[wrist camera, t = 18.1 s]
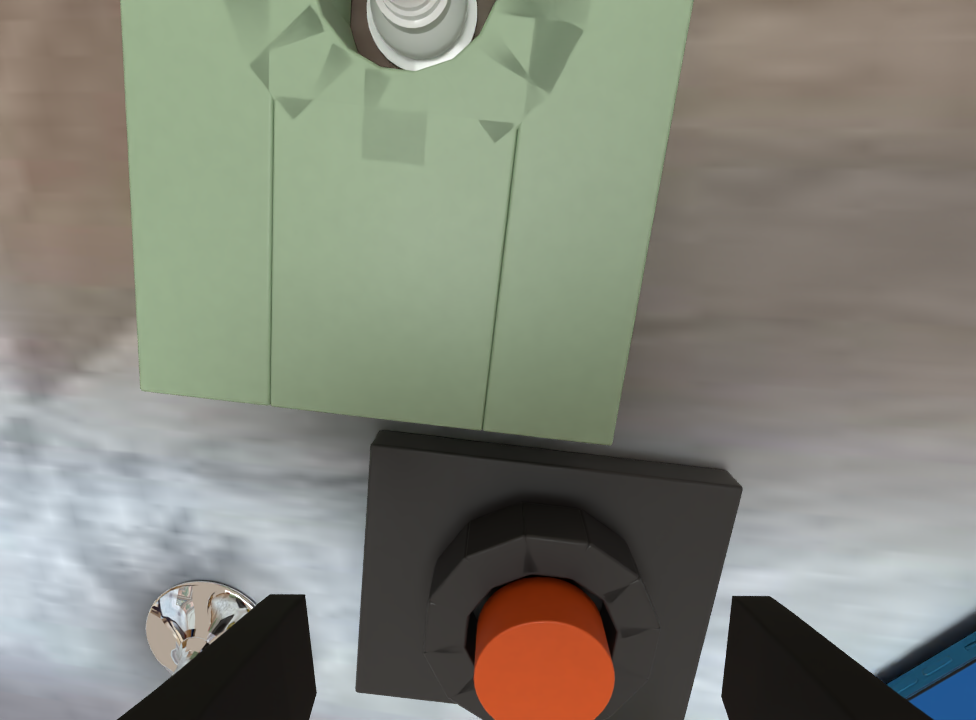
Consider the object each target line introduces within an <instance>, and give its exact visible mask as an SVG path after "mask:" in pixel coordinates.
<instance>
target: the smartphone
mask: <svg viewBox="0 0 976 720" xmlns="http://www.w3.org/2000/svg"><path fill="white" fill-rule="evenodd" d="M886 685H888V686H889V687H890V688H892V689H893V690H894V691H896V692H897V693H898V694H900V695H901V696H902V697H904V698H905V699H906V700H908V701H909V702H910V703H912V704H913V705H915V706H916V707H917V708H919V709H920V710H921V711H923V712H924V713H925V714H927V715H928V716H930V717H931V718H932V719H934V720H976V631H975V632H974V633H972V634H970V635H969V636H967V637H965V638H964V639H962V640H960V641H959V642H957V643H955V644H954V645H952V646H950V647H949V648H947V649H945V650H944V651H942V652H940V653H938V654H937V655H935V656H933V657H932V658H930V659H928V660H927V661H925V662H923V663H922V664H920V665H918V666H917V667H915V668H913V669H912V670H910V671H908V672H907V673H905V674H903V675H901V676H900V677H898V678H896V679H895V680H893V681H891V682H890V683H888V684H886Z"/></svg>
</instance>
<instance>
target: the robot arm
mask: <svg viewBox="0 0 976 720" xmlns="http://www.w3.org/2000/svg"><path fill="white" fill-rule="evenodd" d="M316 693H317V692H316V684H315V675H314V667H313V658H312V650H311V641H310V633H309V625H308V616H307V608H306V599H305V595H294V594H270V595H269V596H267V597H266V598H265V599H264V600H262V601H261V602H260V603H258V604H257V605H256V606H255V607H254V608H252V609H251V610H250V611H249V612H248V613H246V614H245V615H244V616H243V617H242V618H240V619H239V620H238V621H237V622H236V623H235V624H233V625H232V626H231V627H230V628H229V629H228V630H226V631H225V632H224V633H223V634H222V635H220V636H219V637H218V638H217V639H216V640H215V641H213V642H212V643H211V644H210V645H209V646H208V647H206V648H205V649H204V650H203V651H202V652H200V653H199V654H198V655H197V656H196V657H194V658H193V659H192V660H191V661H190V662H188V663H187V664H186V665H185V666H183V667H182V668H181V669H180V670H179V671H177V672H176V673H175V674H174V675H173V676H171V677H170V678H169V679H168V680H167V681H165V682H164V683H163V684H162V685H161V686H159V687H158V688H157V689H156V690H154V691H153V692H152V693H151V694H149V695H148V696H147V697H146V698H144V699H143V700H142V701H140V702H139V703H138V704H137V705H135V706H134V707H133V708H131V709H130V710H129V711H128V712H126V713H125V714H124V715H122V716H121V717H120V718H118V719H117V720H309V718H310V714H311V711H312V707H313V704H314V700H315V697H316ZM721 697H722V700H723V703H724V706H725V709H726V712H727V715H728V718H729V720H934V719H932V718H931V717H930V716H928V715H927V714H925V713H924V712H923V711H921V710H920V709H919V708H917V707H916V706H915V705H913V704H912V703H910V702H909V701H908V700H906V699H905V698H904V697H902V696H901V695H900V694H898V693H897V692H896V691H894V690H893V689H892V688H890V687H889V686H888V685H886V684H885V683H884V682H882V681H881V680H880V679H878V678H877V677H876V676H874V675H873V674H872V673H870V672H869V671H868V670H866V669H865V668H864V667H863V666H861V665H860V664H859V663H857V662H856V661H855V660H853V659H852V658H851V657H849V656H848V655H847V654H846V653H844V652H843V651H842V650H840V649H839V648H838V647H836V646H835V645H834V644H833V643H831V642H830V641H829V640H827V639H826V638H825V637H824V636H822V635H821V634H820V633H818V632H817V631H816V630H814V629H813V628H812V627H811V626H809V625H808V624H807V623H805V622H804V621H803V620H801V619H800V618H799V617H798V616H796V615H795V614H794V613H792V612H791V611H790V610H788V609H787V608H786V607H784V606H783V605H781V604H780V603H779V602H777V601H776V600H774V599H773V598H772V597H770V596H732V605H731V614H730V623H729V632H728V641H727V650H726V659H725V668H724V677H723V686H722V695H721Z"/></svg>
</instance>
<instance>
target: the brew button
mask: <svg viewBox="0 0 976 720" xmlns="http://www.w3.org/2000/svg"><path fill="white" fill-rule="evenodd" d="M614 682H615V672H614V667H613V662H612V658H611V654H610V650H609V647H608V643H607V639H606V635H605V631H604V627H603V623H602V619H601V616H600V613H599V611H598V609H597V607H596V605H595V604H594V602H593V601H592V600H591V598H590V597H589V596H588V595H587V594H586V593H585V592H583V591H582V590H581V589H579V588H578V587H576V586H575V585H573V584H571V583H569V582H566V581H564V580H560V579H557V578H552V577H541V576H538V577H528V578H523V579H519V580H516V581H513V582H511V583H509V584H507V585H505V586H503V587H501V588H500V589H499V590H497V591H496V592H495V593H494V594H493V595H492V596H491V597H490V598H489V599H488V600H487V602H486V603H485V604H484V606H483V608H482V610H481V612H480V615H479V618H478V622H477V634H476V649H475V664H474V687H475V690H476V694H477V696H478V698H479V701H480V703H481V704H482V706H483V707H484V709H485V710H486V711H487V712H488V713H489V715H490V716H492V717H493V718H494V719H495V720H594V719H595V718H596V717H597V716H599V714H600V713H601V712H602V711H603V710H604V708H605V707H606V705H607V704H608V702H609V700H610V698H611V696H612V692H613V689H614Z"/></svg>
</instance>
